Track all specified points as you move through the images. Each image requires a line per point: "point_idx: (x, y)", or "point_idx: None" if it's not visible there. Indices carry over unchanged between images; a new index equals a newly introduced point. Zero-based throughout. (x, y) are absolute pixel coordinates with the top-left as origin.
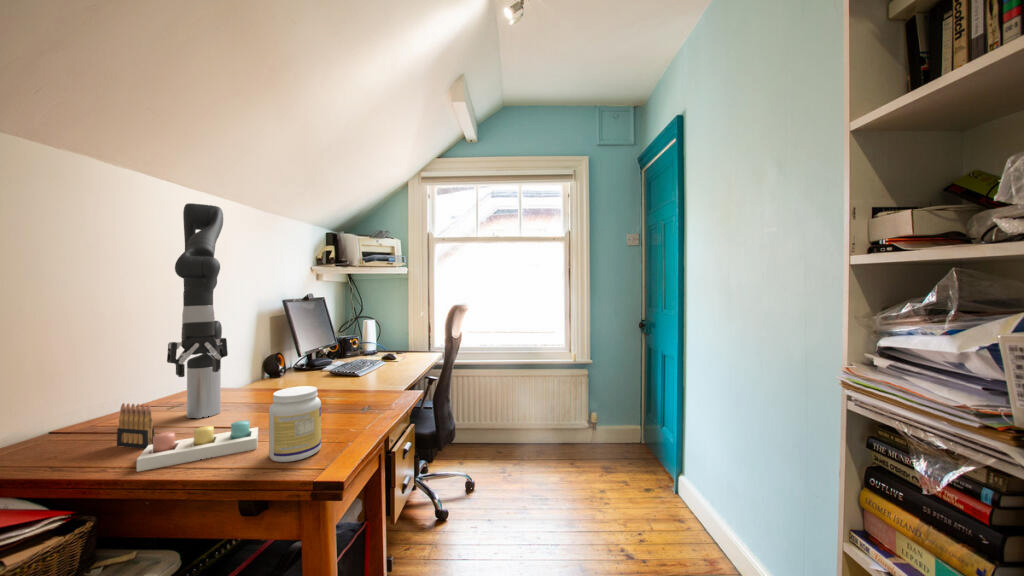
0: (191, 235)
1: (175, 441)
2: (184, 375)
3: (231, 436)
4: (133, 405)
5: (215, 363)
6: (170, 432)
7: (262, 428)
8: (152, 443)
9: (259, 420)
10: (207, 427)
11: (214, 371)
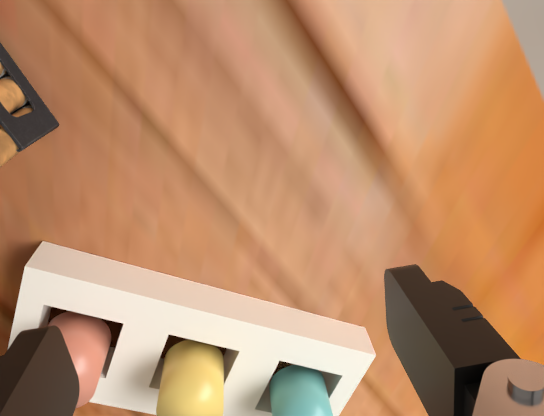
0: None
1: (114, 300)
2: (77, 400)
3: (270, 398)
4: None
5: (430, 404)
6: (80, 372)
7: (424, 246)
8: (47, 120)
9: (483, 120)
10: (203, 407)
11: (387, 310)
